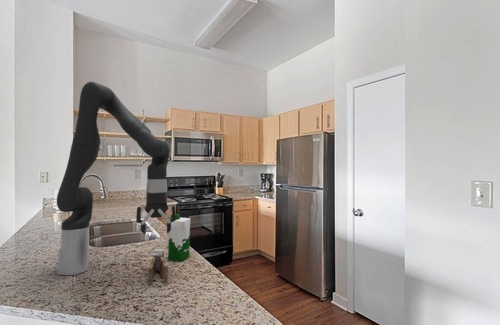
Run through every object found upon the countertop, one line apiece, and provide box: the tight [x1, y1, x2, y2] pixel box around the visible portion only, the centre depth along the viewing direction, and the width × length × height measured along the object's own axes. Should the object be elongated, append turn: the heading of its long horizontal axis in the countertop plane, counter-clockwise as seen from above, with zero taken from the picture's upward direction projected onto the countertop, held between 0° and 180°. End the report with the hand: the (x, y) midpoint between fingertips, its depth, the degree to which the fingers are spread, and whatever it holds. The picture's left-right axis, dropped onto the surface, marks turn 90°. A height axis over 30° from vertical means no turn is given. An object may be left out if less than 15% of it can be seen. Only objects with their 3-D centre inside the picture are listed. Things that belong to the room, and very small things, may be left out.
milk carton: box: [167, 213, 191, 263], centre depth 118 cm, size 9×9×20 cm
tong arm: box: [155, 256, 169, 284], centre depth 98 cm, size 16×3×6 cm, turn 28°
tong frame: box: [147, 248, 165, 287], centre depth 99 cm, size 20×4×7 cm, turn 14°
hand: (156, 233), depth 98 cm, fingers open, 8 cm apart
